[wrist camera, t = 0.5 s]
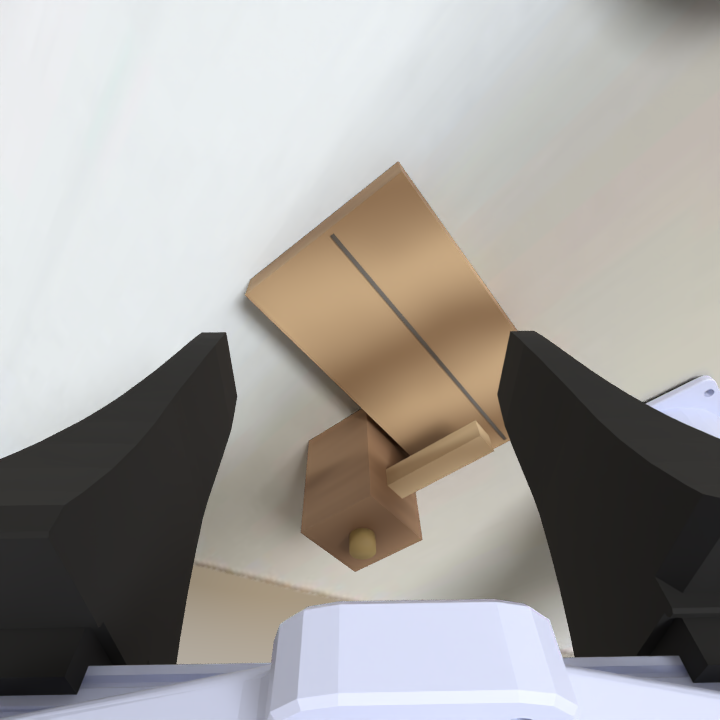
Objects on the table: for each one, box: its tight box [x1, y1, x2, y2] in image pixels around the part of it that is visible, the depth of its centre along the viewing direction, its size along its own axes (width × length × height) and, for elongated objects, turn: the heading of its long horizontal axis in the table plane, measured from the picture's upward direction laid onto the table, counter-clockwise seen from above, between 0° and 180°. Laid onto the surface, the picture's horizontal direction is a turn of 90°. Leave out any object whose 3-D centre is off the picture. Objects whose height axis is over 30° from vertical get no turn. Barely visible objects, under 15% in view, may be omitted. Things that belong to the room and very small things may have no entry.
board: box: [245, 162, 517, 456], centre depth 23 cm, size 14×8×2 cm, turn 38°
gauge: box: [301, 409, 494, 572], centre depth 24 cm, size 4×9×7 cm, turn 128°
